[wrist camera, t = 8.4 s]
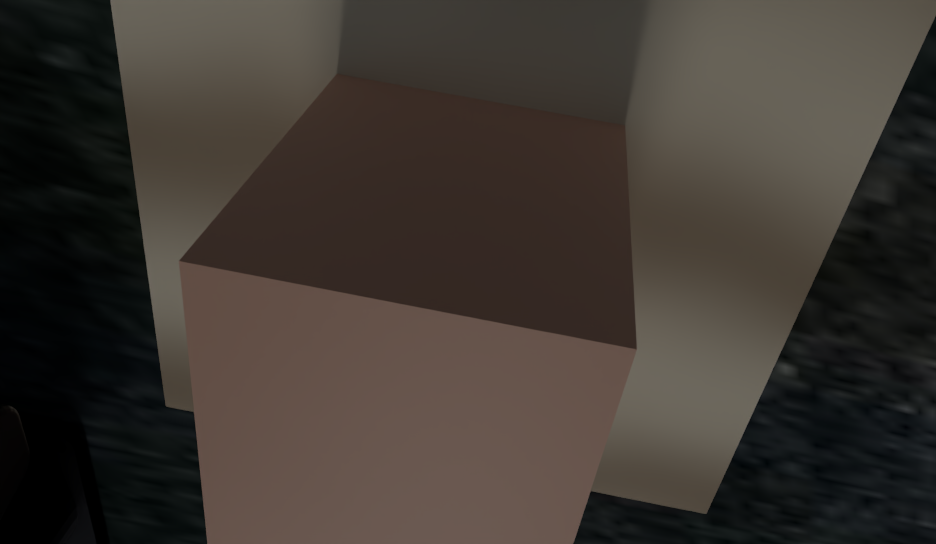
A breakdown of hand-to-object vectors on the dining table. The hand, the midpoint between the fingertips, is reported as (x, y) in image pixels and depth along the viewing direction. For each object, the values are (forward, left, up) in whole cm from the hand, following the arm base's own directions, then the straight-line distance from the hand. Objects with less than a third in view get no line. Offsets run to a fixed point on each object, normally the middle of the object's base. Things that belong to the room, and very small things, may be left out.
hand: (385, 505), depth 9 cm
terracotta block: (0, 0, -7) cm, 7 cm away
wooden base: (0, 0, -9) cm, 9 cm away
